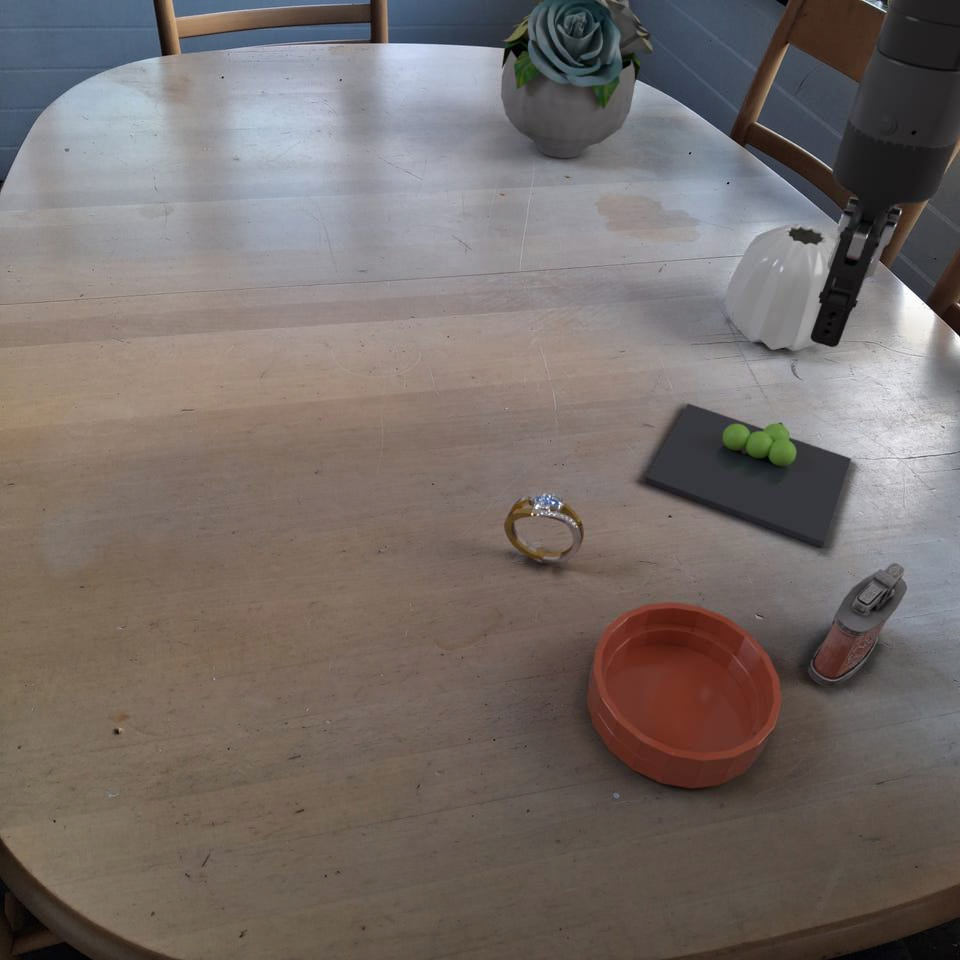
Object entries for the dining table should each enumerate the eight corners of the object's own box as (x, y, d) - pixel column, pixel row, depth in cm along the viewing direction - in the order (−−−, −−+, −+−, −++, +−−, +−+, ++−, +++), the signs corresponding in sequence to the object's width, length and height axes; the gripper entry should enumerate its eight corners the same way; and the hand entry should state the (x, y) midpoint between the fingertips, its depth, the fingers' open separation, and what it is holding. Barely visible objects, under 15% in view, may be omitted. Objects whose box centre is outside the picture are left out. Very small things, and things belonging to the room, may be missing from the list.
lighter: (848, 619, 80) (890, 542, 73) (883, 643, 78) (929, 566, 71) (798, 668, 76) (837, 591, 69) (834, 695, 74) (877, 618, 67)
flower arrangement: (663, 153, 152) (695, -6, 135) (569, 196, 138) (592, 25, 121) (551, 108, 164) (568, -44, 147) (454, 143, 150) (461, -20, 133)
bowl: (783, 679, 75) (799, 646, 72) (738, 824, 65) (754, 793, 62) (622, 612, 79) (631, 578, 76) (558, 738, 69) (565, 706, 66)
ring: (497, 559, 83) (504, 496, 77) (510, 536, 85) (517, 473, 79) (569, 585, 81) (581, 522, 75) (580, 561, 83) (593, 498, 78)
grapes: (788, 475, 92) (801, 441, 96) (796, 454, 90) (809, 421, 94) (716, 450, 95) (732, 418, 99) (723, 429, 93) (738, 398, 97)
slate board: (849, 463, 95) (851, 458, 95) (822, 548, 86) (825, 542, 85) (686, 408, 101) (687, 403, 100) (644, 482, 91) (646, 476, 91)
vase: (707, 343, 111) (734, 244, 101) (734, 291, 120) (761, 196, 111) (820, 377, 107) (859, 277, 98) (839, 320, 116) (876, 224, 107)
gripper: (948, 168, 58) (865, 374, 69) (970, 102, 68) (894, 292, 78) (831, 142, 60) (768, 346, 71) (868, 82, 70) (807, 269, 81)
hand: (834, 318), depth 75 cm, fingers open, 8 cm apart
